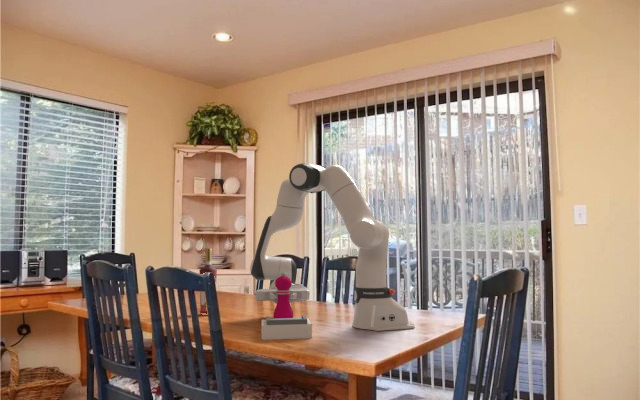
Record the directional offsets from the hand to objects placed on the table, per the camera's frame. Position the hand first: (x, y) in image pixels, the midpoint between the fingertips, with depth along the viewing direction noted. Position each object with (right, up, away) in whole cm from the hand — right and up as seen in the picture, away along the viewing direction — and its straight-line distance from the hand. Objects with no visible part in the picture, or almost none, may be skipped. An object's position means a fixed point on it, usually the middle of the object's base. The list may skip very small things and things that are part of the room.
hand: (283, 297), depth 171 cm
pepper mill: (0, -11, 0) cm, 11 cm away
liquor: (-35, -14, +31) cm, 48 cm away
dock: (+2, -10, -12) cm, 16 cm away
